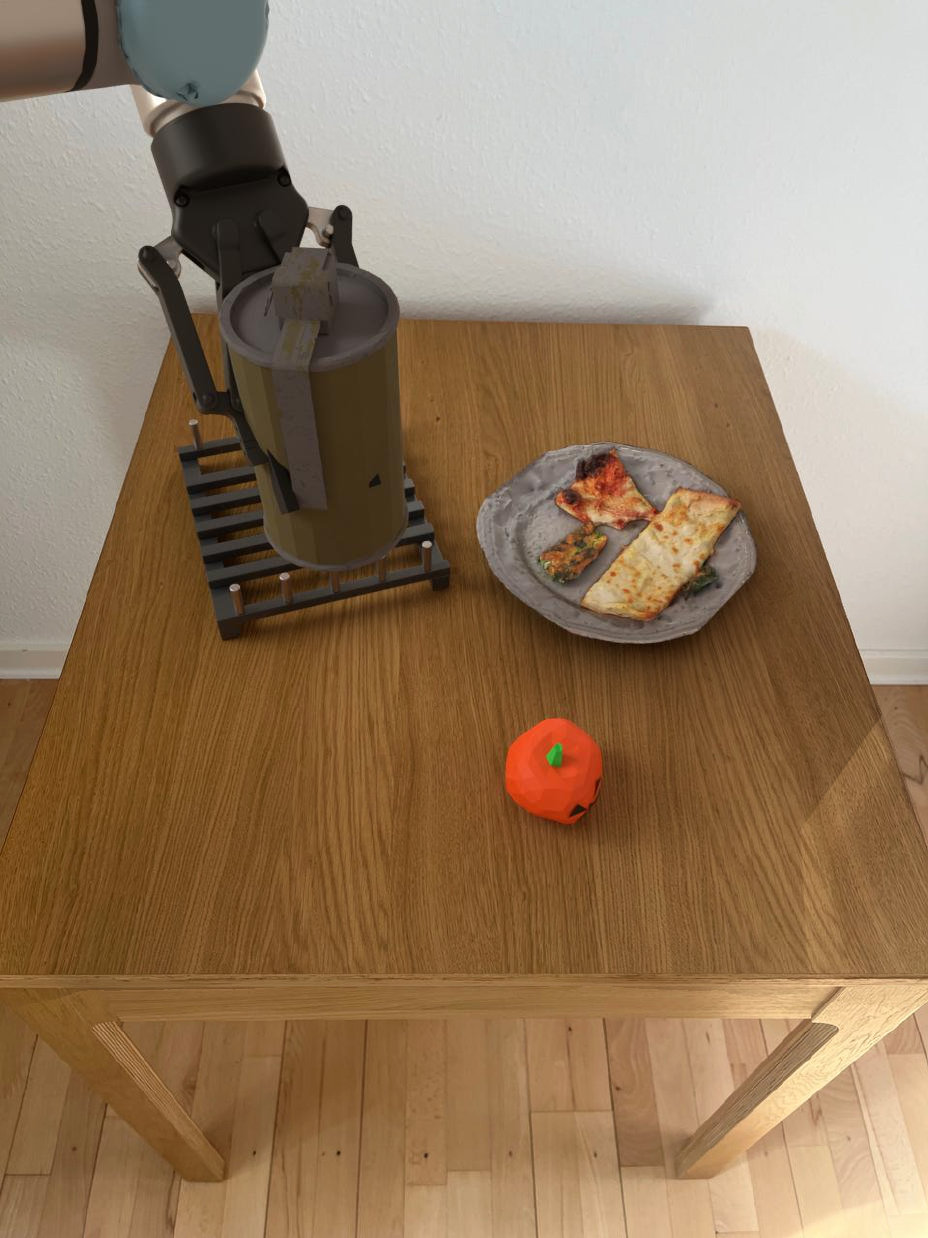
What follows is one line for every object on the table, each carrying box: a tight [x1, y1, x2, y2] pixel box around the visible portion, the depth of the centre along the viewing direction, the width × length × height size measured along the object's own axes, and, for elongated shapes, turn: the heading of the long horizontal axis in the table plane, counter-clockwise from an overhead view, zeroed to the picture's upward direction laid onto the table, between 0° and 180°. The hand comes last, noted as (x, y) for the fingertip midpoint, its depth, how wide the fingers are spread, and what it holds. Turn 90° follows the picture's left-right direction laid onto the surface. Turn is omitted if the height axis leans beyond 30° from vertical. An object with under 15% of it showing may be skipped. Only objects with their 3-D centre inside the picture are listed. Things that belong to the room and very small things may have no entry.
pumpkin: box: [505, 717, 603, 825], centre depth 68 cm, size 7×8×6 cm
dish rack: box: [176, 418, 451, 641], centre depth 85 cm, size 20×22×6 cm
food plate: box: [475, 440, 758, 645], centre depth 85 cm, size 25×23×4 cm
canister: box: [218, 246, 409, 573], centre depth 60 cm, size 11×10×20 cm
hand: (331, 498), depth 60 cm, fingers closed on canister, 5 cm apart
